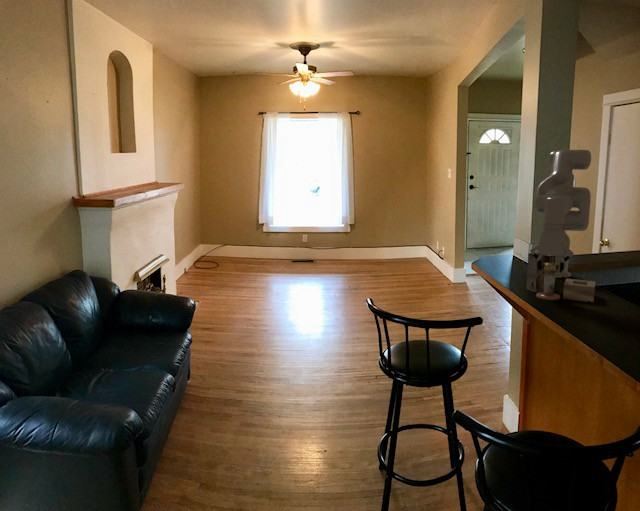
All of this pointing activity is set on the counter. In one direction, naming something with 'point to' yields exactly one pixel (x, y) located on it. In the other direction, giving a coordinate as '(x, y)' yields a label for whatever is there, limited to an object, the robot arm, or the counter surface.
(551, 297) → the coaster
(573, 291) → the eye block
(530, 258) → the coffee box
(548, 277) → the pin
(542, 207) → the robot arm
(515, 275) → the counter surface
